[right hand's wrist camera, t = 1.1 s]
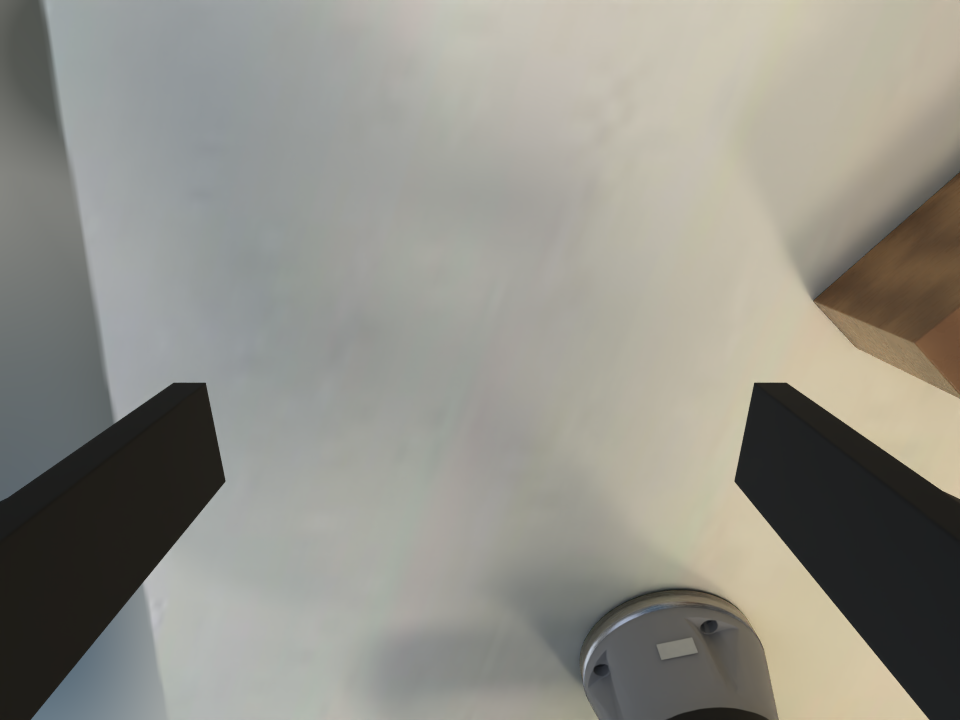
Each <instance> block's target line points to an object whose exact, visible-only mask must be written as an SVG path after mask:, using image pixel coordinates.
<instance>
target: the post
mask: <svg viewBox="0 0 960 720" xmlns="http://www.w3.org/2000/svg"><path fill="white" fill-rule="evenodd" d="M814 302H815V304H816V305H817V306H818V307H819V308H820V309H821V310H822V311H823V312H824V313H825V314H826V315H827V316H828V318H829V319H830V320H831V321H832V322H833V323H834V324H835V325H836V326H837V327H838V328H839V329H840V330H841V332H842V333H843V334H844V335H845V336H846V337H847V338H848V339H849V340H850V341H851V342H852V343H853V345H854V346H855V347H856V348H858V349H860V350H862V351H864V352H866V353H868V354H870V355H872V356H874V357H876V358H878V359H880V360H882V361H884V362H886V363H889V364H891V365H893V366H895V367H897V368H899V369H901V370H903V371H905V372H907V373H909V374H911V375H913V376H915V377H917V378H919V379H921V380H923V381H925V382H927V383H929V384H931V385H933V386H935V387H937V388H939V389H942V390H944V391H946V392H948V393H950V394H952V395H954V396H956V397H958V398H960V173H958V174H957V175H956V176H955V177H954V178H953V179H952V180H950V181H949V182H948V183H947V184H946V185H945V186H944V187H942V188H941V189H940V190H939V191H938V192H937V193H936V194H934V195H933V196H932V197H931V198H930V199H929V200H928V201H926V202H925V203H924V204H923V205H922V206H921V207H920V208H918V209H917V210H916V211H915V212H914V213H913V214H912V215H910V216H909V217H908V218H907V219H906V220H905V221H904V222H902V223H901V224H900V225H899V226H898V227H897V228H896V229H894V230H893V231H892V232H891V233H890V234H889V235H888V236H886V237H885V238H884V239H883V240H882V241H881V242H880V243H879V244H877V245H876V246H875V247H874V248H873V249H872V250H871V251H869V252H868V253H867V254H866V255H865V256H864V257H863V258H861V259H860V260H859V261H858V262H857V263H856V264H855V265H853V266H852V267H851V268H850V269H849V270H848V271H847V272H845V273H844V274H843V275H842V276H841V277H840V278H839V279H837V280H836V281H835V282H834V283H833V284H832V285H831V286H829V287H828V288H827V289H826V290H825V291H824V292H823V293H821V294H820V295H819V296H818V297H817V298H816V299H815V300H814Z"/></svg>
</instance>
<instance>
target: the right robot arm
mask: <svg viewBox="0 0 960 720" xmlns="http://www.w3.org/2000/svg"><path fill="white" fill-rule="evenodd" d="M224 483H225V476H224V471H223V466H222V461H221V456H220V451H219V446H218V441H217V436H216V432H215V427H214V422H213V417H212V412H211V407H210V402H209V397H208V392H207V387H206V383H173V384H171V385H170V386H168V387H167V388H165V389H164V390H163V391H161V392H160V393H158V394H157V395H155V396H154V397H152V398H151V399H150V400H148V401H147V402H145V403H144V404H142V405H141V406H139V407H138V408H137V409H135V410H134V411H132V412H131V413H129V414H128V415H127V416H125V417H124V418H122V419H121V420H119V421H118V422H116V423H115V424H114V425H112V426H111V427H109V428H108V429H106V430H105V431H103V432H102V433H101V434H99V435H98V436H96V437H95V438H93V439H92V440H90V441H89V442H88V443H86V444H85V445H83V446H82V447H80V448H79V449H78V450H76V451H75V452H73V453H72V454H70V455H69V456H67V457H66V458H65V459H63V460H62V461H60V462H59V463H57V464H56V465H55V466H53V467H52V468H50V469H49V470H47V471H46V472H44V473H43V474H41V475H40V476H39V477H37V478H36V479H34V480H33V481H31V482H30V483H29V484H27V485H26V486H24V487H23V488H21V489H20V490H19V491H17V492H16V493H14V494H13V495H11V496H10V497H8V498H7V499H4V500H2V501H0V720H31V719H32V717H33V716H34V715H35V714H36V713H37V711H38V710H39V709H40V708H41V706H42V705H43V704H44V703H45V702H46V700H47V699H48V698H49V697H50V695H51V694H52V693H53V692H54V691H55V689H56V688H57V687H58V686H59V684H60V683H61V682H62V681H63V680H64V678H65V677H66V676H67V675H68V673H69V672H70V671H71V670H72V668H73V667H74V666H75V665H76V664H77V662H78V661H79V660H80V659H81V658H82V656H83V655H84V654H85V653H86V651H87V650H88V649H89V648H90V647H91V645H92V644H93V643H94V642H95V640H96V639H97V638H98V637H99V636H100V634H101V633H102V632H103V631H104V629H105V628H106V627H107V626H108V624H109V623H110V622H111V621H112V620H113V618H114V617H115V616H116V615H117V614H118V612H119V611H120V610H121V609H122V607H123V606H124V605H125V604H126V602H127V601H128V600H129V599H130V598H131V596H132V595H133V594H134V593H135V591H136V590H137V589H138V588H139V587H140V585H141V584H142V583H143V582H144V580H145V579H146V578H147V577H148V576H149V574H150V573H151V572H152V571H153V569H154V568H155V567H156V566H157V565H158V563H159V562H160V561H161V560H162V558H163V557H164V556H165V555H166V554H167V552H168V551H169V550H170V549H171V547H172V546H173V545H174V544H175V543H176V541H177V540H178V539H179V538H180V536H181V535H182V534H183V533H184V532H185V530H186V529H187V528H188V527H189V525H190V524H191V523H192V522H193V521H194V519H195V518H196V517H197V516H198V514H199V513H200V512H201V511H202V510H203V508H204V507H205V506H206V505H207V503H208V502H209V501H210V500H211V499H212V497H213V496H214V495H215V494H216V492H217V491H218V490H219V489H220V488H221V486H222V485H223V484H224ZM735 483H736V484H737V485H738V486H739V488H740V489H741V490H742V491H743V492H744V494H745V495H746V496H747V497H748V499H749V500H750V501H751V502H752V503H753V505H754V506H755V507H756V508H757V510H758V511H759V512H760V513H761V514H762V516H763V517H764V518H765V519H766V521H767V522H768V523H769V524H770V525H771V527H772V528H773V529H774V530H775V532H776V533H777V534H778V535H779V536H780V538H781V539H782V540H783V541H784V543H785V544H786V545H787V546H788V547H789V549H790V550H791V551H792V552H793V554H794V555H795V556H796V557H797V558H798V560H799V561H800V562H801V563H802V565H803V566H804V567H805V568H806V569H807V571H808V572H809V573H810V574H811V576H812V577H813V578H814V579H815V580H816V582H817V583H818V584H819V585H820V587H821V588H822V589H823V590H824V591H825V593H826V594H827V595H828V596H829V598H830V599H831V600H832V601H833V603H834V604H835V605H836V606H837V607H838V609H839V610H840V611H841V612H842V614H843V615H844V616H845V617H846V618H847V620H848V621H849V622H850V623H851V625H852V626H853V627H854V628H855V629H856V631H857V632H858V633H859V634H860V636H861V637H862V638H863V639H864V640H865V642H866V643H867V644H868V645H869V647H870V648H871V649H872V650H873V651H874V653H875V654H876V655H877V656H878V658H879V659H880V660H881V661H882V662H883V664H884V665H885V666H886V667H887V669H888V670H889V671H890V672H891V673H892V675H893V676H894V677H895V678H896V680H897V681H898V682H899V683H900V684H901V686H902V687H903V688H904V689H905V691H906V692H907V693H908V694H909V695H910V697H911V698H912V699H913V700H914V702H915V703H916V704H917V705H918V706H919V708H920V709H921V710H922V711H923V713H924V714H925V715H926V716H927V717H928V719H929V720H960V499H958V498H956V497H954V496H952V495H950V494H948V493H946V492H943V491H942V490H940V489H939V488H937V487H936V486H934V485H933V484H931V483H930V482H929V481H927V480H926V479H924V478H923V477H921V476H920V475H919V474H917V473H916V472H914V471H913V470H911V469H910V468H908V467H907V466H906V465H904V464H903V463H901V462H900V461H898V460H897V459H895V458H894V457H893V456H891V455H890V454H888V453H887V452H885V451H884V450H882V449H881V448H880V447H878V446H877V445H875V444H874V443H872V442H871V441H870V440H868V439H867V438H865V437H864V436H862V435H861V434H859V433H858V432H857V431H855V430H854V429H852V428H851V427H849V426H848V425H846V424H845V423H844V422H842V421H841V420H839V419H838V418H836V417H835V416H833V415H832V414H831V413H829V412H828V411H826V410H825V409H823V408H822V407H821V406H819V405H818V404H816V403H815V402H813V401H812V400H810V399H809V398H808V397H806V396H805V395H803V394H802V393H800V392H799V391H797V390H796V389H795V388H793V387H792V386H790V385H789V384H787V383H754V387H753V392H752V397H751V402H750V407H749V412H748V417H747V422H746V427H745V432H744V436H743V441H742V446H741V451H740V456H739V461H738V466H737V471H736V476H735ZM580 670H581V675H582V680H583V685H584V690H585V693H586V696H587V698H588V700H589V702H590V704H591V706H592V708H593V710H594V712H595V713H596V715H597V717H598V719H599V720H779V719H778V714H777V709H776V705H775V700H774V695H773V690H772V685H771V680H770V676H769V671H768V666H767V661H766V657H765V653H764V649H763V646H762V644H761V642H760V640H759V638H758V636H757V635H756V633H755V631H754V630H753V628H752V626H751V624H750V623H749V621H748V620H747V618H746V617H745V616H744V615H743V613H742V612H740V611H739V610H738V609H737V608H736V607H735V606H733V605H732V604H730V603H729V602H727V601H725V600H723V599H721V598H719V597H716V596H713V595H710V594H706V593H702V592H696V591H687V590H671V591H662V592H655V593H651V594H647V595H643V596H640V597H637V598H635V599H632V600H630V601H628V602H625V603H623V604H621V605H620V606H618V607H616V608H615V609H613V610H612V611H610V612H609V613H607V614H606V615H605V616H604V617H603V618H601V619H600V620H599V621H598V622H597V623H596V625H595V626H594V627H593V628H592V629H591V631H590V632H589V634H588V635H587V637H586V639H585V641H584V643H583V646H582V649H581V654H580Z"/></svg>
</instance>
